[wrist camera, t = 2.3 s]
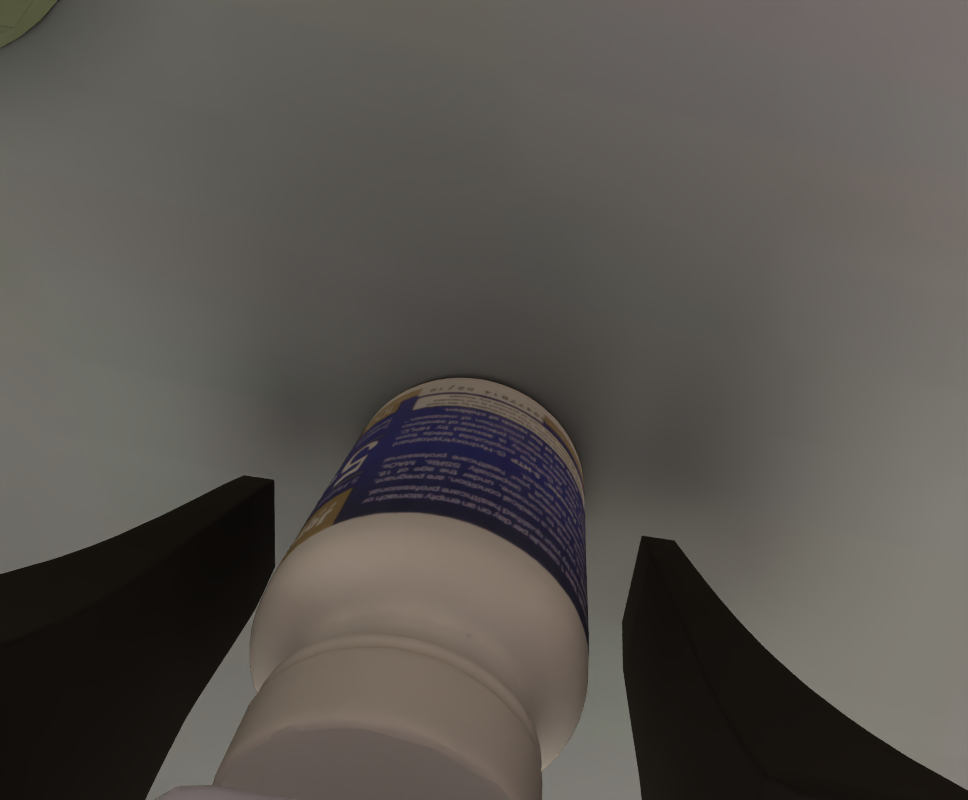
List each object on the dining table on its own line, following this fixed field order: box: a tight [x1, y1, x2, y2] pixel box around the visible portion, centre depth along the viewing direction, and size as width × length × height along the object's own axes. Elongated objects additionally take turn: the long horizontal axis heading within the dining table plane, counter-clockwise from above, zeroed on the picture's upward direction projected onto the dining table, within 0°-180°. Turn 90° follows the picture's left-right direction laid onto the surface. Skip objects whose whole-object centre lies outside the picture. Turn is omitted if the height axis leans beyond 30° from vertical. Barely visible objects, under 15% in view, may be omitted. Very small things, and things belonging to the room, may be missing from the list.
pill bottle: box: [213, 378, 589, 800], centre depth 13 cm, size 5×5×9 cm
